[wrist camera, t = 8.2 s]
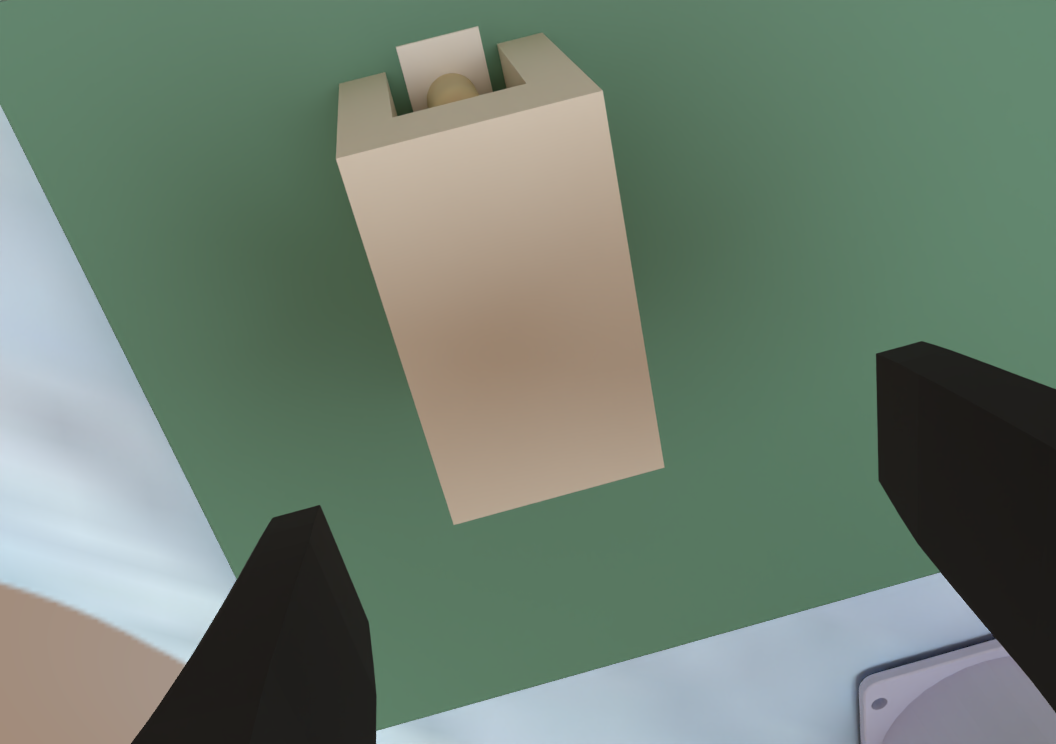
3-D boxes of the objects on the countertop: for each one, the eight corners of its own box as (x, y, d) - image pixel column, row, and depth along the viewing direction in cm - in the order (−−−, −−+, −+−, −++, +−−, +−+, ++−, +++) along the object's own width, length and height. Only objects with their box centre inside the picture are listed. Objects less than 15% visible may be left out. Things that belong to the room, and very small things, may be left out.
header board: (1107, 508, 28) (1185, 576, 25) (320, 729, 27) (317, 822, 24) (1225, -301, 18) (1375, -327, 15) (-33, 8, 17) (-103, 37, 14)
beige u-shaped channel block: (601, 343, 22) (664, 467, 17) (432, 388, 21) (453, 525, 17) (542, 32, 18) (602, 91, 14) (338, 83, 18) (335, 159, 13)
